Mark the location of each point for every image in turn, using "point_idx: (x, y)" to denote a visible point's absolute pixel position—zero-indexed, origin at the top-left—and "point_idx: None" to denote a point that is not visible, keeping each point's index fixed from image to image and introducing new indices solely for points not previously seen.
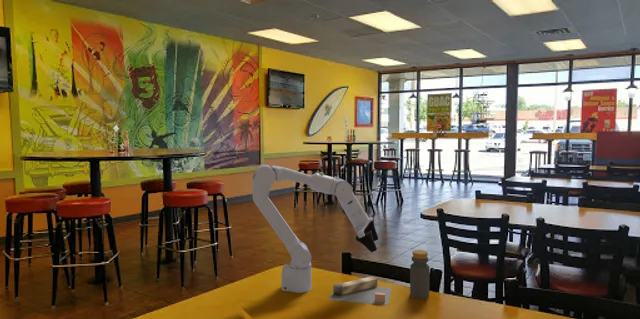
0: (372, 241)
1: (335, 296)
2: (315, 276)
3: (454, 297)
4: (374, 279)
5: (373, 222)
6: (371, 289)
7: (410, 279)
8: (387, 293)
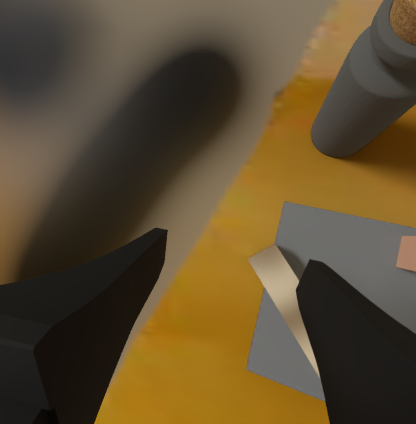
0: (395, 324)
1: None
2: (156, 420)
3: (324, 43)
4: (282, 255)
5: (62, 303)
6: (299, 265)
7: (371, 130)
8: (334, 220)
